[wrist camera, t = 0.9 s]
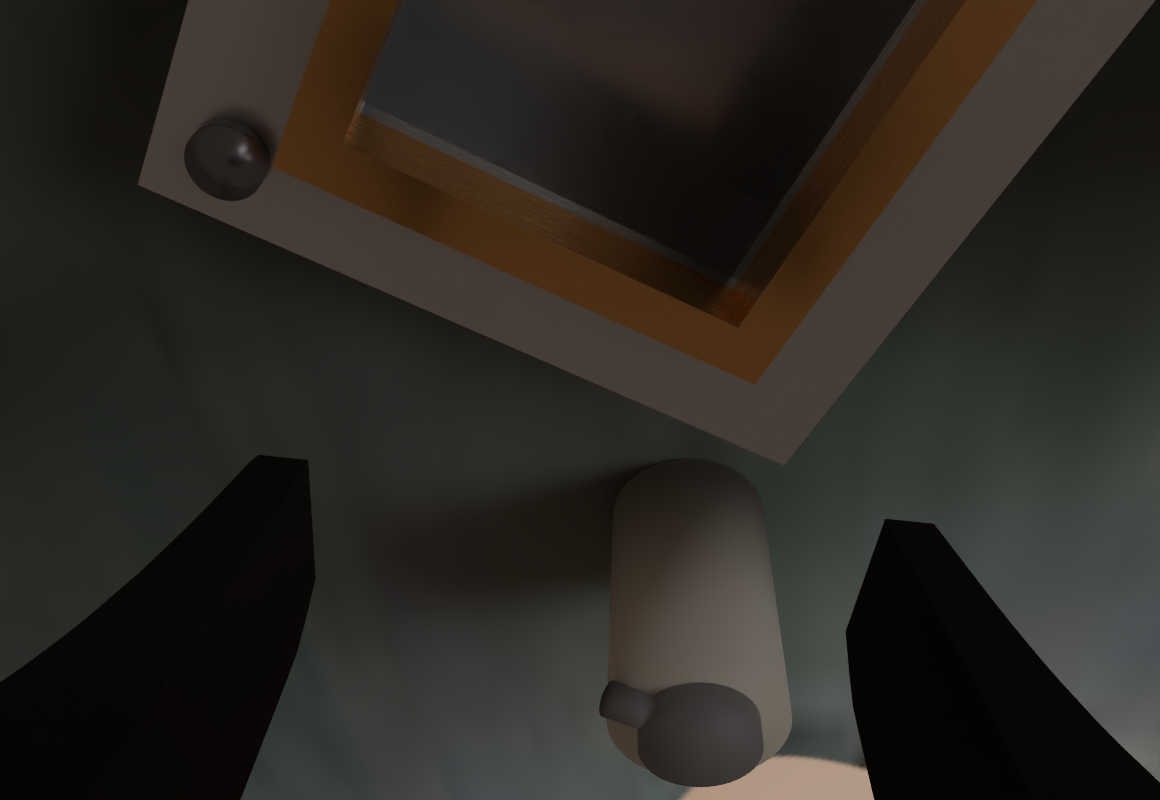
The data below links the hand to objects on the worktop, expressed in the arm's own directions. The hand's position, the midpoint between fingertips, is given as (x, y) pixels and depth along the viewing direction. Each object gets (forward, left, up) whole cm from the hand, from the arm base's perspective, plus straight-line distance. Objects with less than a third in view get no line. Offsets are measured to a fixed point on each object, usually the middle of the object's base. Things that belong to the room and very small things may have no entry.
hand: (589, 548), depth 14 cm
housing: (+2, -5, -10) cm, 11 cm away
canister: (-5, +6, -10) cm, 13 cm away
